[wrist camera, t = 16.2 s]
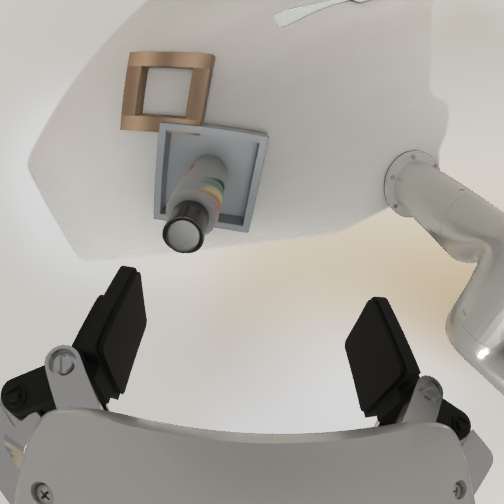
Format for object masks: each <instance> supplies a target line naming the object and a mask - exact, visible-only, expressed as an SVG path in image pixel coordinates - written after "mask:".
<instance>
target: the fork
mask: <svg viewBox="0 0 504 504" xmlns="http://www.w3.org/2000/svg"><path fill="white" fill-rule="evenodd" d="M344 1H348V0H328V1H324V2H320V3H315V4H310V5H306V6H301V7H296V8H292V9H288V10H285V11H282V12H279V13H277V14H275V15H274V16H273V17H274V19H275V20H276V22H277V24H278V25H279V26H280V27H284V26H286V25H289V24H291V23H293V22H295V21H297V20H299V19H301V18H303V17H305V16H307V15H309V14H311V13H313V12H315V11H317V10H320V9H322V8H325V7H328V6H331V5H334V4H337V3H340V2H344ZM355 1H357V2H363V1H367V0H355Z"/></svg>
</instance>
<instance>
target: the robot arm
mask: <svg viewBox="0 0 504 504" xmlns="http://www.w3.org/2000/svg"><path fill="white" fill-rule="evenodd" d="M384 191H385V197H386V200H387V202H388V204H389V206H390V207H391V208H392V209H393V210H394V211H395V212H396V213H397V214H399V215H401V216H404V217H413V218H414V219H415V220H417V222H418V223H419V224H420V225H421V226H423V228H424V229H425V230H426V231H427V232H428V233H429V234H430V235H431V236H432V237H433V238H434V239H435V240H436V241H437V242H438V243H439V244H440V245H441V246H442V247H443V248H444V249H445V251H446V252H447V253H448V254H449V255H450V256H451V257H453V258H454V259H456V260H458V261H461V262H466V263H476V262H478V264H477V267H476V268H475V270H474V272H473V274H472V277H471V278H470V280H469V282H468V284H467V285H466V287H465V289H464V290H463V292H462V293H461V295H460V297H459V298H458V300H457V301H456V303H455V304H454V306H453V308H452V309H451V311H450V313H449V315H448V317H447V320H446V333H447V336H448V339H449V341H450V342H451V344H452V346H453V347H454V348H455V349H456V351H457V352H458V353H459V354H460V355H461V356H462V357H463V358H464V359H465V360H466V361H467V362H468V363H470V364H471V365H472V366H473V367H474V368H475V369H476V370H477V371H478V372H479V373H480V374H482V375H483V376H484V377H485V378H486V379H487V380H488V381H489V382H490V383H491V384H492V385H493V386H494V387H495V388H497V390H499V391H500V392H501V393H502V394H503V395H504V212H502V211H501V210H499V209H498V208H496V207H494V206H493V205H492V204H490V203H489V202H487V201H486V200H485V199H483V198H482V197H480V196H479V195H477V194H476V193H474V192H473V191H471V190H470V189H468V188H467V187H465V186H464V185H462V184H461V183H459V182H458V181H456V180H454V179H453V178H451V177H449V176H448V175H446V174H445V173H443V172H441V171H440V169H439V166H438V164H437V163H436V161H435V160H434V159H433V158H432V157H431V156H429V155H428V154H426V153H424V152H421V151H409V152H406V153H404V154H402V155H401V156H399V157H398V158H397V159H396V160H395V161H394V162H393V163H392V165H391V166H390V168H389V170H388V172H387V175H386V179H385V186H384ZM146 322H147V319H146V313H145V305H144V298H143V291H142V282H141V275H140V272H137V270H136V268H133V267H127V266H121V267H120V269H119V270H118V272H117V274H116V276H115V277H114V279H113V281H112V282H111V284H110V286H109V287H108V289H107V291H106V293H105V294H104V295H100V296H99V297H98V298H97V300H96V302H95V303H94V305H93V307H92V309H91V311H90V312H89V314H88V316H87V318H86V320H85V321H84V323H83V325H82V327H81V329H80V331H79V333H78V335H77V337H76V339H75V341H74V343H73V345H72V347H71V346H66V345H62V346H57V347H55V348H53V349H52V350H51V351H50V352H49V353H48V355H47V356H46V359H45V365H44V366H42V367H39V368H37V369H35V370H32V371H30V372H27V373H25V374H23V375H20V376H18V377H15V378H13V379H11V380H9V381H7V382H6V383H5V385H4V386H3V388H2V391H1V398H0V490H1V492H2V493H3V495H4V496H5V497H6V499H7V500H8V501H9V503H10V504H475V500H474V494H475V493H476V491H477V489H478V488H479V486H480V484H481V483H482V481H483V480H484V478H485V476H486V475H487V473H488V471H489V469H490V467H491V465H492V462H493V456H492V453H491V451H490V450H489V448H488V447H487V446H486V445H485V443H484V442H483V441H482V440H481V439H480V437H479V436H478V435H477V434H476V433H475V431H474V430H472V431H470V428H471V425H470V420H469V418H468V416H467V415H466V414H465V413H464V412H462V411H461V410H459V409H458V408H456V407H455V406H453V405H452V404H450V403H449V402H447V401H446V400H444V399H443V390H442V387H441V385H440V384H439V382H438V381H437V380H436V379H435V378H433V377H431V376H422V377H421V378H420V377H419V374H420V373H421V372H420V370H419V367H418V365H417V363H416V360H415V358H414V356H413V353H412V351H411V349H410V346H409V344H408V342H407V340H406V338H405V335H404V333H403V331H402V329H401V327H400V325H399V322H398V321H397V318H396V316H395V314H394V312H393V310H392V308H391V306H390V304H389V302H388V300H387V299H386V298H384V297H373V298H372V299H371V300H369V301H368V302H367V304H366V306H365V307H364V309H363V311H362V313H361V315H360V316H359V318H358V320H357V322H356V324H355V325H354V327H353V329H352V331H351V332H350V334H349V336H348V338H347V339H346V342H345V349H346V352H347V356H348V360H349V363H350V368H351V372H352V375H353V379H354V383H355V387H356V391H357V395H358V399H359V404H360V408H361V410H362V411H364V414H365V417H371V416H376V415H377V419H378V420H377V422H376V424H375V426H374V427H371V428H364V429H357V430H349V431H338V432H326V433H308V434H255V433H237V432H225V431H214V430H205V429H198V428H191V427H184V426H178V425H172V424H166V423H161V422H156V421H151V420H146V419H140V418H136V417H132V416H128V415H123V414H119V413H114V412H110V410H109V408H108V406H107V403H109V400H110V398H114V399H117V400H118V398H119V395H120V393H121V394H123V393H124V392H125V389H126V385H127V382H128V379H129V375H130V372H131V369H132V366H133V363H134V359H135V357H136V354H137V351H138V348H139V345H140V342H141V339H142V336H143V333H144V330H145V328H146ZM27 443H28V444H27ZM26 444H27V447H26V450H25V453H23V451H24V447H25V445H26Z"/></svg>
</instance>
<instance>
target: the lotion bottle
mask: <svg viewBox="0 0 504 504" xmlns="http://www.w3.org/2000/svg"><path fill="white" fill-rule="evenodd" d="M226 178H227V170H226V167H225V165H224V163H223V162H222V161H221V160H220V159H218V158H216V157H214V156H204V157H201V158H199V159H197V160H196V161H195V162H194V163H193V164H192V166H191V167H190V169H189V170H188V171H187V173H186V174H185V176H184V177H183V179H182V180H181V182H180V183H179V185H178V186H177V188H176V189H175V191H174V192H173V194H172V196H171V197H170V199H169V201H168V203H167V206H166V217H167V222H166V224H165V226H164V229H163V239H164V241H165V243H166V244H167V245H168V246H169V247H170V248H172V249H173V250H175V251H177V252H180V253H192V252H195V251H197V250H198V249H199V248H200V247H201V246H202V244H203V241H204V237H205V235H206V234H208V233H209V232H211V231H212V230H213V228H214V227H215V225H216V224H217V221H218V217H219V213H220V208H221V203H222V198H223V193H224V188H225V184H226Z"/></svg>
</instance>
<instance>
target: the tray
mask: <svg viewBox="0 0 504 504" xmlns="http://www.w3.org/2000/svg"><path fill="white" fill-rule="evenodd" d="M168 131H179V132H189V133H198V134H200V135H199V136H196V135H187V134H177V133H168ZM268 138H269V137H268V135H267V133H263V132H257V131H252V130H246V129H240V128H234V127H227V126H220V125H213V124H205V123H203V124H202V125H200V126H199V125H190V124H180V123H168V122H161V123H160V128H159V138H158V148H157V161H156V175H155V194H154V219H159V220H166V221H167V217H166V206H167V203H168V201H169V199H170V197H171V196H172V194H173V192H174V191H175V189H176V188H177V186H178V185H179V183H180V182H181V180H182V179H183V177H184V176H185V174H186V173H187V171H188V170H189V169H190V167H191V166H192V164H193V163H194V162H195V161H196V160H197V159H199V158H201V157H204V156H214V157H216V158H218V159H220V160H221V161H222V162H223V163H224V165H225V167H226V170H227V178H226V184H225V188H224V193H223V198H222V203H221V208H220V213H219V217H218V221H217V224H216V225H215V227H214V228H221V229H228V230H234V231H241V232H247V233H248V232H249V227H250V222H251V217H252V213H253V208H254V203H255V198H256V194H257V189H258V184H259V180H260V175H261V170H262V166H263V161H264V156H265V152H266V147H267V143H268Z"/></svg>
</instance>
